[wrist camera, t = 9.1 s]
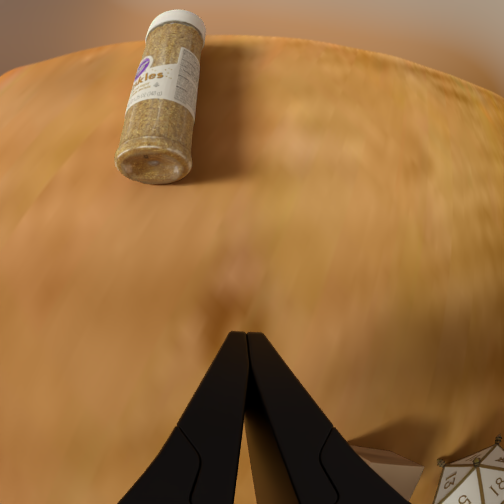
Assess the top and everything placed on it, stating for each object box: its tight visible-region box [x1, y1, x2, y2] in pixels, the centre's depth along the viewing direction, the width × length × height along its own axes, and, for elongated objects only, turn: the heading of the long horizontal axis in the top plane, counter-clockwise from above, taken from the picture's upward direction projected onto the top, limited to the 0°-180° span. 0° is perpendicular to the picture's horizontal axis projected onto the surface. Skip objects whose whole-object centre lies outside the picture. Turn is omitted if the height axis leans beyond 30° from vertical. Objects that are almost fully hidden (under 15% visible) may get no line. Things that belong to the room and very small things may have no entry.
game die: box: [433, 434, 504, 504], centre depth 13 cm, size 9×8×10 cm
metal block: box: [350, 445, 424, 501], centre depth 14 cm, size 4×4×4 cm
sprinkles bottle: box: [115, 10, 206, 184], centre depth 19 cm, size 5×5×13 cm
